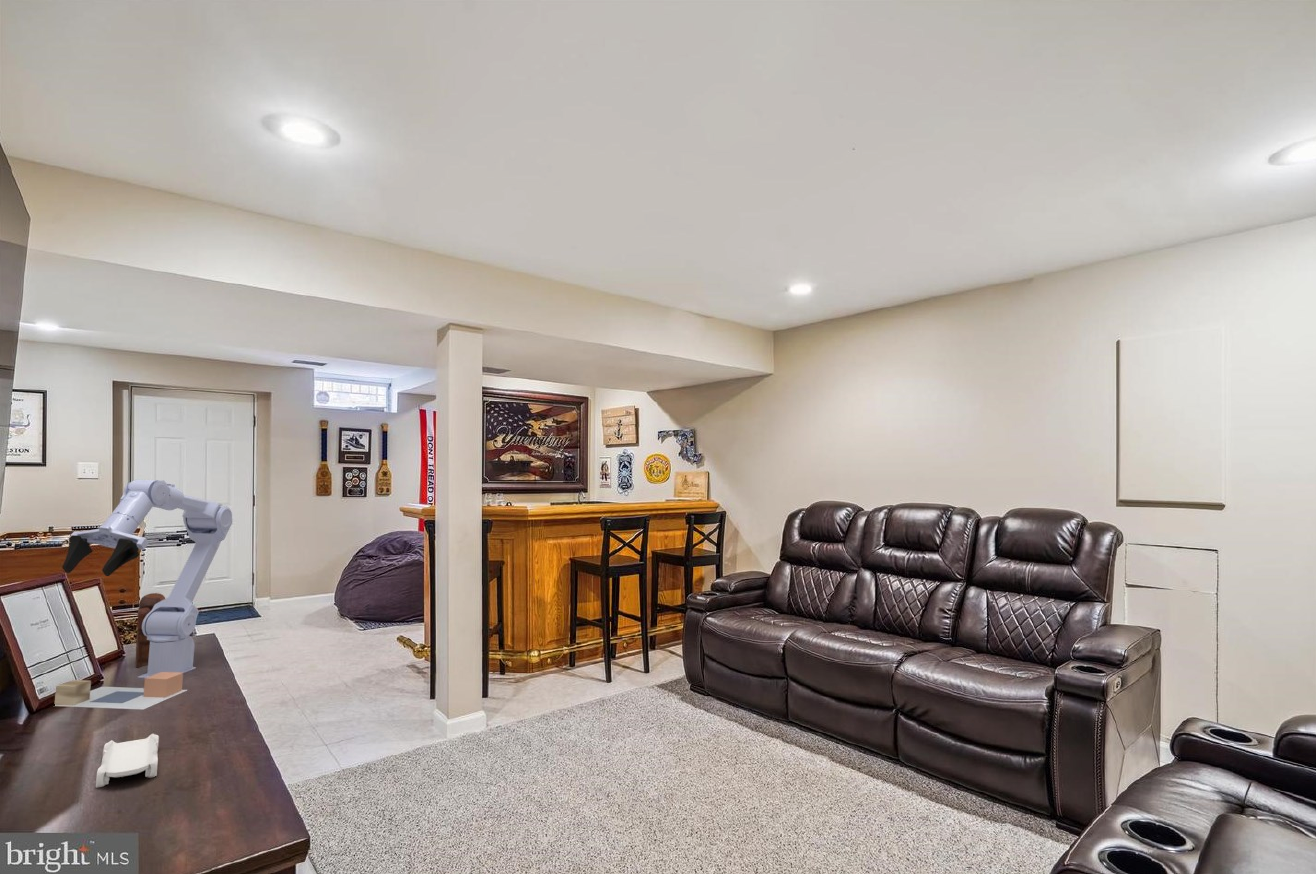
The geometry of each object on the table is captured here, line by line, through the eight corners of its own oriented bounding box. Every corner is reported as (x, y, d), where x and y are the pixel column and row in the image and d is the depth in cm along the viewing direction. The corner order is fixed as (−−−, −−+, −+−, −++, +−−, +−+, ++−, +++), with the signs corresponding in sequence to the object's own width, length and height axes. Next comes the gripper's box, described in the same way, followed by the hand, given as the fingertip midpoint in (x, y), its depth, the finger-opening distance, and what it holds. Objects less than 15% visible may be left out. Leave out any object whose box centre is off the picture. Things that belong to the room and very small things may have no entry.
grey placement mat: (102, 688, 153) (102, 686, 153) (187, 692, 153) (187, 689, 153) (49, 708, 140) (50, 705, 140) (143, 711, 140) (143, 708, 140)
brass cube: (71, 698, 145) (73, 680, 145) (89, 699, 144) (91, 680, 145) (54, 705, 141) (56, 685, 141) (73, 705, 140) (74, 686, 141)
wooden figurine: (163, 666, 172) (169, 596, 173) (132, 669, 168) (138, 597, 169) (164, 655, 181) (169, 589, 182) (134, 658, 177) (140, 590, 179)
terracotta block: (160, 689, 152) (161, 671, 153) (181, 690, 152) (183, 672, 152) (143, 696, 147) (144, 678, 148) (165, 697, 147) (166, 679, 148)
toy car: (103, 756, 119) (105, 730, 119) (158, 747, 123) (159, 722, 124) (93, 797, 104) (96, 767, 105) (156, 784, 109) (158, 756, 109)
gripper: (81, 506, 145) (38, 556, 135) (152, 513, 147) (115, 563, 137) (94, 527, 150) (54, 577, 140) (162, 533, 152) (128, 583, 142)
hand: (85, 571), depth 139 cm, fingers open, 7 cm apart
